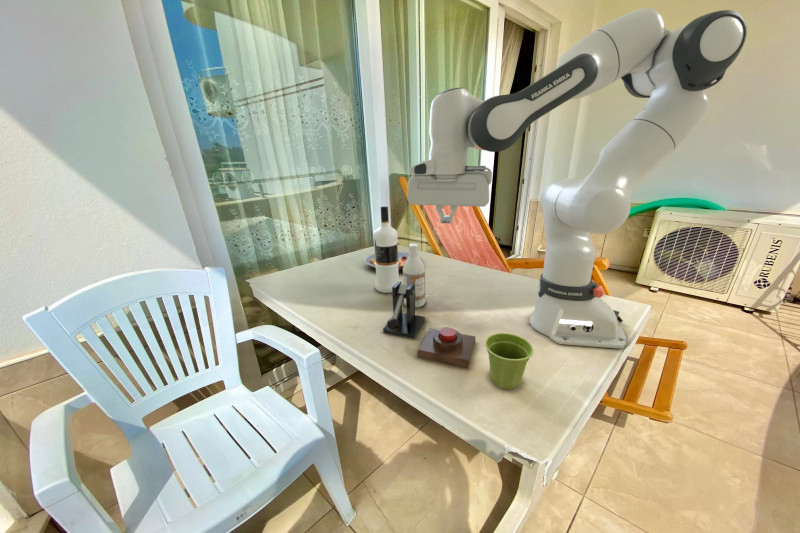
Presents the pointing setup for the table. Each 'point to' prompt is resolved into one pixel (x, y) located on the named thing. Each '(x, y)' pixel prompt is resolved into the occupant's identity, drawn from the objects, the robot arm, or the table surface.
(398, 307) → the lever
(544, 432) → the table surface
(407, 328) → the tap bracket
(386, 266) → the vodka
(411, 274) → the bath foam
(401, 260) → the food plate
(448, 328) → the button
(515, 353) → the plant pot
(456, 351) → the button block
